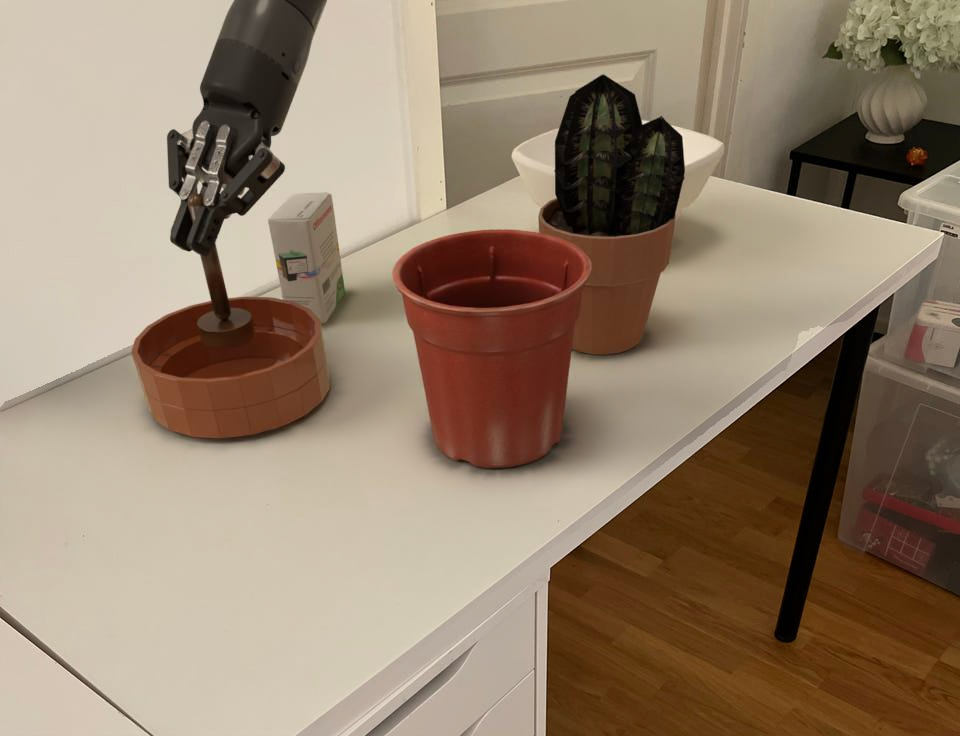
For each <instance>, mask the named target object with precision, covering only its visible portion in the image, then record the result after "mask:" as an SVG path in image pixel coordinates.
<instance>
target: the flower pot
mask: <svg viewBox="0 0 960 736" xmlns="http://www.w3.org/2000/svg"><path fill="white" fill-rule="evenodd" d="M590 272H591V261H590V259H589V258H588V256H587V255H586V254H585V253H584V251H582V250H581V249H580V248H579V247H577V246H576V245H574V244H572V243H570V242H568V241H566V240H563V239H560V238H558V237H554V236H551V235H547V234H542V233H539V232H537V231H536V232H535V231H531V230H521V229H505V228H503V229H479V230H469V231H463V232H458V233H453V234H448V235H444V236H441V237H437V238H434V239H431V240H428V241H425V242H422V243H421V244H419V245H416V246H415V247H412V248H411V249H410V250H408V251H407V252H405V253H404V254H402V256H401V257H399V259H398V260H397V261H396V262H395V264H394V266H393V269H392V271H391V278H392V281H393V284H394V286H395V288H396V289H397V291H398V292H399V293H400V294H401V297H402V301H403V307H404V312H405V317H406V321H407V324H408V326H409V328H410V329H411V330H412V333H413V339H414V343H415V344H414V345H415V348H416V354H417V359H418V364H419V368H420V374H421V379H422V384H423V389H424V394H425V398H426V404H427V405H426V406H427V410H428V415H429V420H430V426H431V430H432V436H433V440H434V443H435V445H436V446H437V448H438V450H440V452H442V454H444V455H445V456H446V457H448V458H450V459H451V460H453V461H455V462H457V461H459V460H464V461H466V462H468V463H470V464H472V466H474V467H477V468H483V469H502V468H512V467H518V466H522V465H526V464H529V463H532V462H535V461H537V460H539V459H541V458H543V457H544V456H546V455H548V453H549V452H550V450H551V448H552V447H553V446H554V445H555V444H558V443H559V442H560V440H561V438H562V435H563V428H564V427H563V426H564V419H565V409H566V401H567V393H568V392H567V391H568V383H569V376H570V366H571V359H572V350H573V349H572V343H573V334H574V326H575V323H576V321H577V319H578V317H579V314H580V307H581V298H582V290H583V285H584V284H585V283H586V282H587V280H588V278H589V275H590Z"/></svg>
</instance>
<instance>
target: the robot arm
mask: <svg viewBox="0 0 960 736" xmlns="http://www.w3.org/2000/svg"><path fill="white" fill-rule="evenodd" d="M327 3H328V0H233V2H232V3H231V5H230V7H229V9H228V10H227V12H226V15H225V18H224V20H223V22H222V24H221V25H222V26H221V29H220V31H219V34H218V36H217V39H216V42H215V44H214V47H213V50H212V52H211V56H210V58H209V61H208V64H207V66H206V69H205V72H204V74H203V77H202V79H201V82H200V85H199V93H200V95H201V97H202V104H203V107H202V109H201V111H200V112H199V114H198V115H197V116H196V117H195V119H194V121H193V123H192V128H190V129H189V130H187V131H185V132H182V133H180V132H179V131H177V130H176V129H175V128H172V129H170V130H169V131H168V133H167V135H166V146H167V147H166V148H167V149H166V150H167V151H166V152H167V175H168V176H167V177H168V178H167V179H168V187H169V189H170V190H171V191H172V192H174V193H175V194H176V195H177V196H178V197H179V198H180V203H179V207H178V210H177V212H176V215H175V218H174V219H173V223H172V226H171V228H170V236H169V240H170V243H172V244H173V245H174V246H176V247H177V248H179V249H180V250H182V251H185V252H191V251H193V252H195V253H196V254H197V255H199V256H200V255H202V256H208V255H209V253H210V251H211V250H212V248H213V247H214V245H215V243H216V242H217V240H218V237H219V234H220V232H221V229H222V227H223V223H224V222H225V220H227V219H230V217H231V216H232V215H233V214H237V215H239V216H240V217H243V216H245V215H247V213H248V212H249V211H250V210H251V209H252V208H253V207H254V206H255V205H256V203H257V202H258V201H259V200H260V199H261V198H262V197H264V195H265V194H266V192H267V191H268V190H269V189H270V188H271V187H272V186H273V185H274V184H275V183H276V182H277V180H278V179H280V178H281V176H282V175H283V174H284V173H285V171H286V165H285V164H284V163H283V162H282V161H281V160H280V159H279V158H278V157H277V156H276V155H275V154H274V153H273V152H272V149H271V146H272V137H275V136H277V135H279V134H280V133H281V131H282V129H283V127H284V124H285V122H286V119H287V117H288V114H289V111H290V108H291V105H292V103H293V101H294V98H295V95H296V92H297V91H298V88H299V84H300V81H301V79H302V77H303V75H304V74H303V73H304V71H305V68H306V66H307V63H308V60H309V56H310V52H311V47H312V44H313V40H314V36H315V34H316V31H317V29H318V26H319V24H320V21H321V18H322V15H323V13H324V10H325V7H326V5H327ZM199 183H201V188H200V191H199V193H198V185H199ZM245 189H248V190H247V191H246V192H245ZM221 190H222V191H221ZM244 192H245V193H244ZM195 193H197V194H200V195H202V196H203V197H204V199H203V203H204V204H205V207H204V206H200V207H199V209H198V212H197V215H196V217H195V220H194V223H193V224H192V220H191V215H190V211H189V207H188V198H189V196H190V195H192V194H195ZM240 196H241V197H240Z"/></svg>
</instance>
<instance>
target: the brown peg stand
mask: <svg viewBox="0 0 960 736" xmlns="http://www.w3.org/2000/svg"><path fill="white" fill-rule="evenodd" d="M203 199H204V197H203V196H202V195H200V194H199V193H198V194H197V193H195V194H192V195H190V196H189V198H188V207H189V211H190V215H191V220H192V224H193V223H194V220H195V217H196V215H197V212H198V209H199V207H200V206H204V207H205V204H204V203H203ZM199 256H200V260H201V265H202V269H203V273H204V278H205V281H206V285H207V289H208V294H209V297H210V301H211V302H212V306H213V310H214V311H211V312H209V313H207V314H205V315H203V316H202V317H200V319H199V320H198V322H197V325H198V329H199V333H200V337H201V340H202V343H203V344H204V345H205V346H207V347H210V348H214V349H228V348H234V347H238V346H241V345H244V344H246V343H248V342H249V341H251V340H252V339H253V338H254V336H255V330H254V325H253V321H252V316H251V314H250V313H249V312H248V311H246V310H244V309H240V308H230V304H229V300H228V298H229V296H228V291H227V286H226V283H225V279H224V274H223V269H222V266H221V261H220V257H219V252H218V249H217V244H216V242H215V245H214V247H213V248H212V250H211V251H210V253H209V255H208V256H202V255H199Z"/></svg>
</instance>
